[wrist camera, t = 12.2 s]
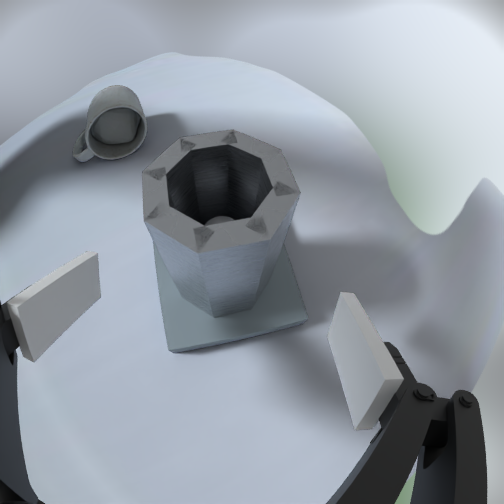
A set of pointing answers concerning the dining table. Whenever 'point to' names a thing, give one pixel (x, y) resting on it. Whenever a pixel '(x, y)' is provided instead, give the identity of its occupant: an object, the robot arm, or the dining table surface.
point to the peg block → (233, 325)
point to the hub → (219, 204)
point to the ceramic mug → (112, 125)
